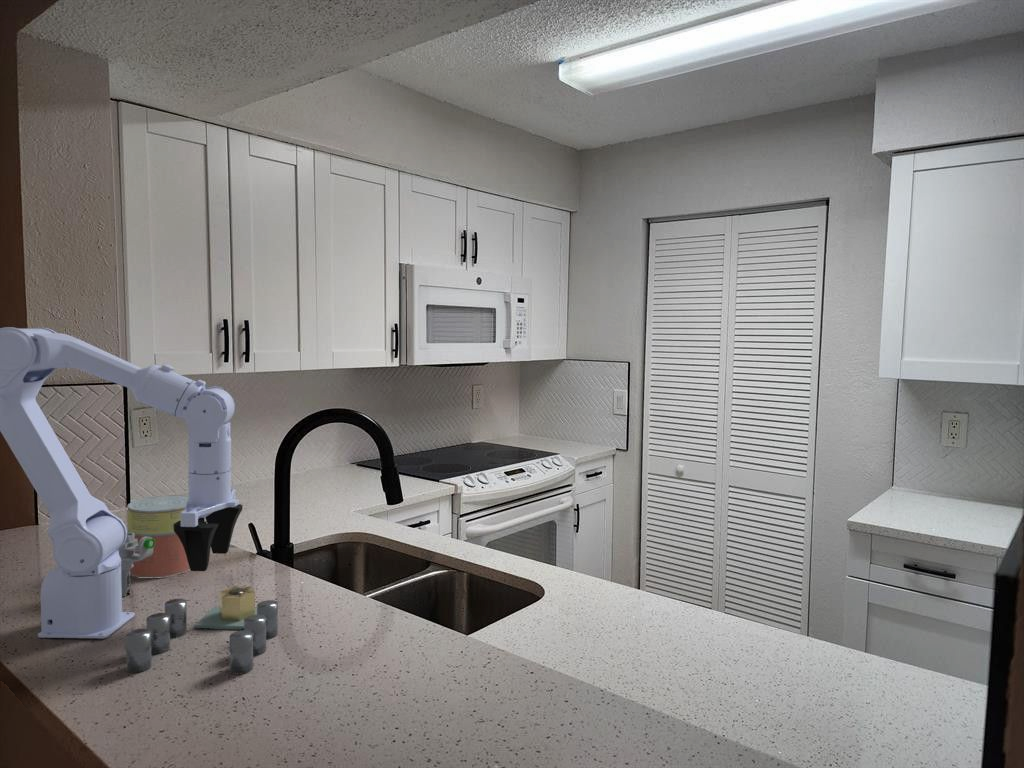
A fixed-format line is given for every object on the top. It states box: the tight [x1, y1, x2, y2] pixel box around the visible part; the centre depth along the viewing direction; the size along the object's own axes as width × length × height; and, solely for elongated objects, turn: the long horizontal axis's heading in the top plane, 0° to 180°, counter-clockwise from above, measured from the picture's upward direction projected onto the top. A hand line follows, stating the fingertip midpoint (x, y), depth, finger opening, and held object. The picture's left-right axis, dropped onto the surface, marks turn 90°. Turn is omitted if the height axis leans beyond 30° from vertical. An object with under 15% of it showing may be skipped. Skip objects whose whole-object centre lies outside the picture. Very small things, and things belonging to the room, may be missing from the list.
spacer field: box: [125, 598, 279, 675], centre depth 92 cm, size 16×13×4 cm
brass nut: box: [218, 585, 256, 621], centre depth 102 cm, size 5×5×4 cm
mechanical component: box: [119, 531, 155, 597], centre depth 110 cm, size 3×10×10 cm, turn 78°
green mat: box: [194, 605, 257, 630], centre depth 102 cm, size 9×7×1 cm
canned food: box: [126, 494, 190, 578], centre depth 122 cm, size 11×11×12 cm
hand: (209, 561), depth 100 cm, fingers open, 7 cm apart
